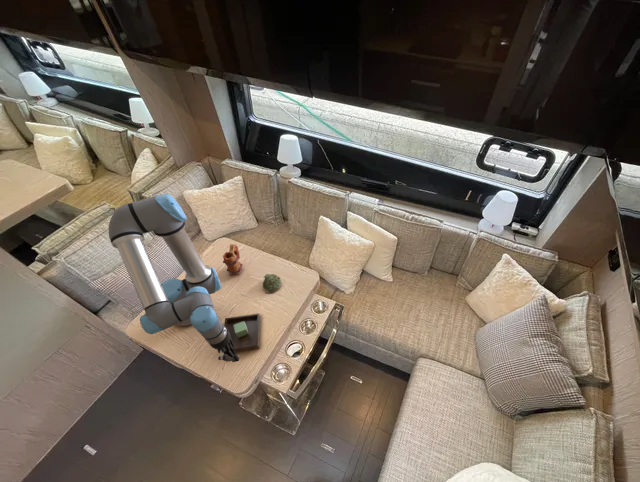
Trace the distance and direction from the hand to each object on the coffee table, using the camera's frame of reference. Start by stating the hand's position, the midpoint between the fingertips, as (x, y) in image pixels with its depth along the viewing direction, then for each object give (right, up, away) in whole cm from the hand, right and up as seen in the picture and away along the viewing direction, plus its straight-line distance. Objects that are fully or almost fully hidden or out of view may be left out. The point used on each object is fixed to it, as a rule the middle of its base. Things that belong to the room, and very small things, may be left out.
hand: (235, 360), depth 122 cm
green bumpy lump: (+5, +31, +36) cm, 48 cm away
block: (-4, +9, +16) cm, 18 cm away
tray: (-3, +7, +16) cm, 18 cm away
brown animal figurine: (-18, +40, +43) cm, 62 cm away
